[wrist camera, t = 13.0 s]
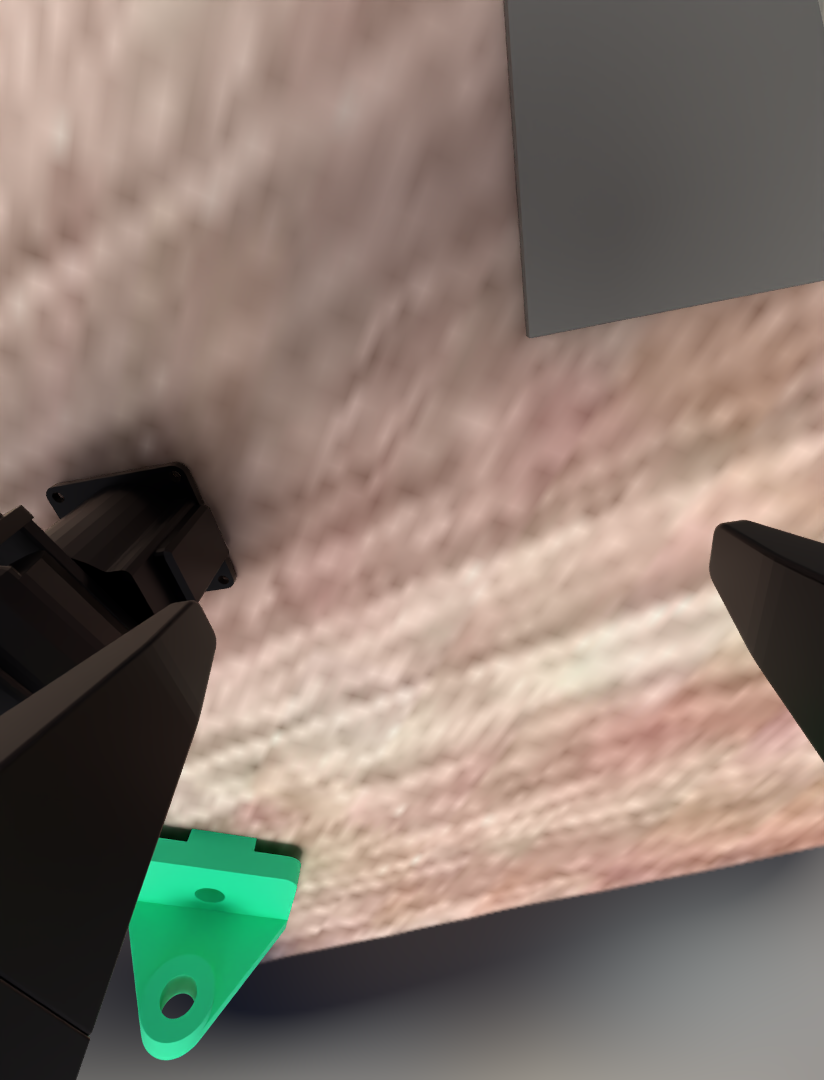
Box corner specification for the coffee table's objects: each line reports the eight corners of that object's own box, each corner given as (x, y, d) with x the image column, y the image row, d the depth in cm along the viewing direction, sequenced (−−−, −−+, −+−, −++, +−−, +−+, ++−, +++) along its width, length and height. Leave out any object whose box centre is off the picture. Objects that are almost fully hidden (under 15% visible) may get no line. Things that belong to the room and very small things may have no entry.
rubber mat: (526, 335, 19) (529, 338, 18) (488, -219, 12) (492, -240, 12) (962, 249, 17) (979, 249, 17) (1185, -440, 11) (1223, -474, 10)
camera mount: (305, 842, 37) (271, 1028, 28) (292, 891, 41) (258, 1068, 32) (141, 818, 36) (50, 1006, 27) (143, 871, 40) (64, 1050, 31)
